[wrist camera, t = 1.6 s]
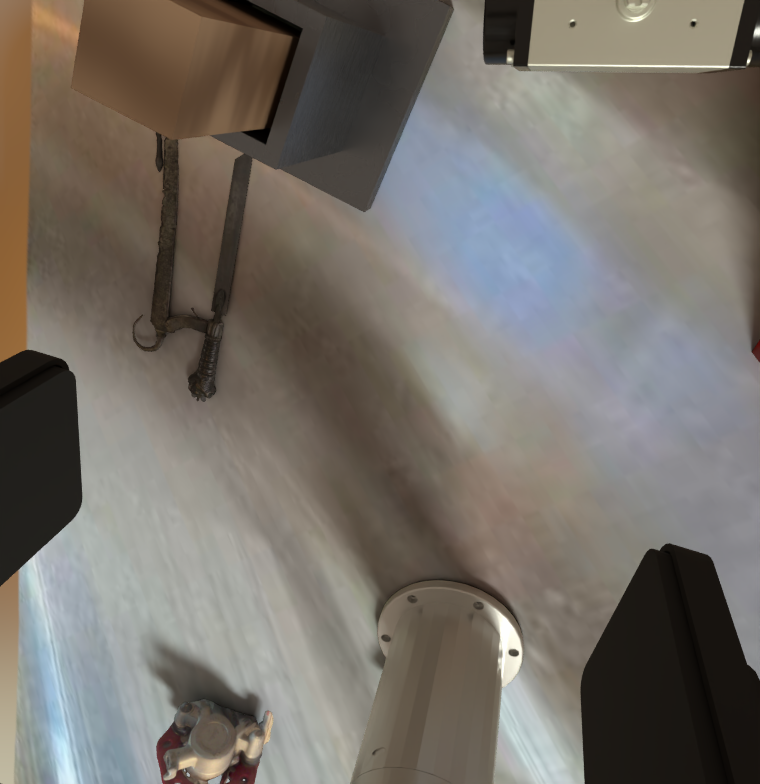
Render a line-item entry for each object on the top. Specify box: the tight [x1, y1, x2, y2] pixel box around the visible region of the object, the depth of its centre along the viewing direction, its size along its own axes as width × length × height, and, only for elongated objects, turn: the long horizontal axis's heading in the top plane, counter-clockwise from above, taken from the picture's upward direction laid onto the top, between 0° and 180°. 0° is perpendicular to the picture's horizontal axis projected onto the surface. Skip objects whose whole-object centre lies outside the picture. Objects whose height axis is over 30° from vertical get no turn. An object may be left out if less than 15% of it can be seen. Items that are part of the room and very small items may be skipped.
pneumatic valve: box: [483, 0, 760, 73], centre depth 28 cm, size 6×12×12 cm, turn 89°
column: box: [71, 0, 303, 140], centre depth 28 cm, size 4×4×18 cm
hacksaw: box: [132, 132, 252, 402], centre depth 45 cm, size 24×10×2 cm, turn 164°
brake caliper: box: [156, 699, 273, 784], centre depth 64 cm, size 11×10×11 cm
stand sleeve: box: [210, 0, 454, 212], centre depth 32 cm, size 12×12×13 cm
